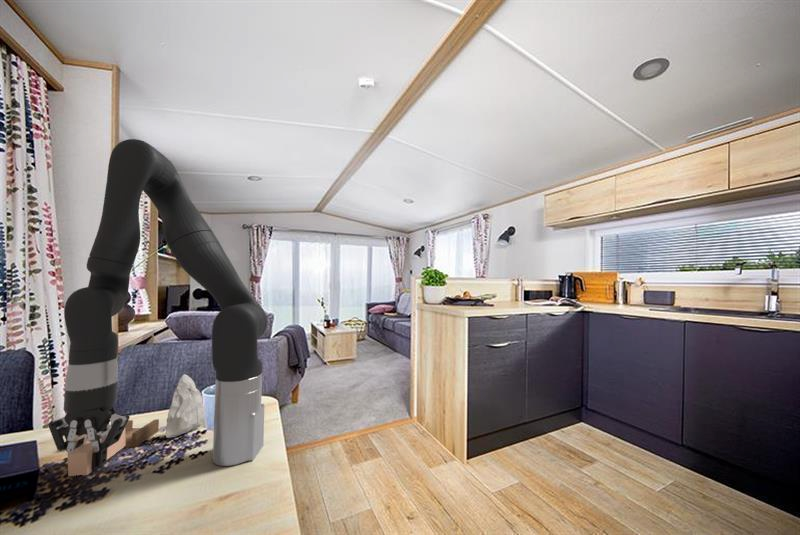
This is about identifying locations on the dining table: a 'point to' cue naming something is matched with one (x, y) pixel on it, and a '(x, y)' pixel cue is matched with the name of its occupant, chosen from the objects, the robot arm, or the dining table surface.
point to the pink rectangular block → (89, 456)
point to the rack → (138, 433)
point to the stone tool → (185, 408)
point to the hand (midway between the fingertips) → (87, 468)
